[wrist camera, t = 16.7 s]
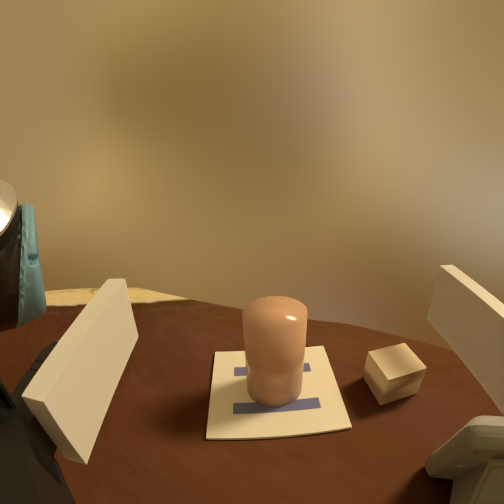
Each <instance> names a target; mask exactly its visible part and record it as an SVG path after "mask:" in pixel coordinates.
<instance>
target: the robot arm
mask: <svg viewBox="0 0 504 504" xmlns="http://www.w3.org/2000/svg"><path fill="white" fill-rule="evenodd" d="M45 310H46V297H45V291H44V286H43V279H42V273H41V266H40V258H39V250H38V242H37V231H36V220H35V209H34V207H33V206H32V205H30V204H28V205H26V204H22V205H20V206H18V202H17V197H16V194H15V191H14V189H13V188H12V187H11V185H9V184H8V183H6V182H4V181H2V180H0V332H2V331H6V330H10V329H14V328H16V329H17V328H20V327H21V325H23V324H26V323H29V322H32V321H34V320H37V319H39V318H41V317H42V316H43V314H44V313H45ZM427 320H428V321H429V322H430V323H431V325H432V326H433V327H434V328H435V329H436V330H437V331H438V332H439V334H440V335H441V336H442V337H443V338H444V340H445V341H446V342H447V343H448V344H449V346H450V347H451V348H452V349H453V350H454V352H455V353H456V354H457V355H458V356H459V358H460V359H461V360H462V361H463V363H464V364H465V365H466V366H467V368H468V369H469V370H470V371H471V373H472V374H473V375H474V376H475V378H476V379H477V380H478V382H479V383H480V384H481V385H482V387H483V388H484V389H485V391H486V392H487V393H488V395H489V396H490V397H491V399H492V400H493V401H494V403H495V404H496V406H497V407H498V408H499V410H500V411H501V412H502V414H503V415H504V305H503V304H502V303H501V302H500V301H499V300H497V299H496V298H495V297H494V296H493V295H491V294H490V293H489V292H487V291H486V290H485V289H484V288H482V287H481V286H480V285H478V284H477V283H476V282H475V281H473V280H472V279H471V278H469V277H468V276H467V275H465V274H464V273H463V272H461V271H460V270H459V269H457V268H456V267H454V266H453V265H443V266H440V267H439V272H438V277H437V281H436V286H435V290H434V294H433V298H432V302H431V306H430V310H429V314H428V318H427ZM137 339H138V333H137V329H136V325H135V321H134V317H133V312H132V308H131V304H130V299H129V294H128V290H127V285H126V280H125V279H108V280H107V281H106V282H105V283H104V285H103V286H102V287H101V288H100V289H99V291H98V292H97V293H96V294H95V296H94V297H93V298H92V299H91V301H90V302H89V303H88V304H87V306H86V307H85V308H84V309H83V311H82V312H81V313H80V314H79V316H78V317H77V318H76V320H75V321H74V322H73V323H72V325H71V326H70V327H69V329H68V330H67V331H66V333H65V334H64V335H63V337H62V338H61V339H60V341H59V342H53V343H51V344H50V345H49V346H47V347H46V348H44V349H43V350H42V351H41V353H40V354H39V355H38V357H37V358H36V359H35V362H33V364H32V365H31V366H30V370H27V372H26V373H25V375H24V376H23V377H22V379H21V380H20V382H19V383H18V385H17V386H16V388H15V389H14V391H13V392H12V393H11V395H9V393H8V391H7V390H6V388H5V386H4V384H3V383H2V381H1V379H0V504H76V503H75V501H74V499H73V497H72V495H71V493H70V490H69V488H68V486H67V484H66V481H65V479H64V477H63V474H62V472H61V469H60V467H59V464H58V462H57V460H56V459H55V457H54V454H55V451H56V449H58V450H59V451H60V452H61V454H62V455H63V456H64V457H65V459H68V460H72V461H76V462H79V463H83V464H87V462H88V460H89V457H90V454H91V451H92V448H93V446H94V443H95V440H96V438H97V435H98V432H99V430H100V427H101V424H102V422H103V419H104V417H105V414H106V412H107V409H108V407H109V404H110V402H111V399H112V397H113V394H114V392H115V389H116V387H117V385H118V382H119V380H120V377H121V375H122V373H123V370H124V368H125V366H126V363H127V361H128V359H129V357H130V354H131V352H132V350H133V348H134V345H135V343H136V341H137Z"/></svg>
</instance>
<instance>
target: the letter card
mask: <svg viewBox="0 0 504 504" xmlns="http://www.w3.org/2000/svg"><path fill="white" fill-rule="evenodd" d="M351 428H352V426H351V423H350V420H349V417H348V414H347V411H346V408H345V405H344V403H343V400H342V397H341V394H340V391H339V388H338V385H337V383H336V380H335V377H334V374H333V371H332V369H331V366H330V363H329V360H328V357H327V355H326V352H325V349H324V347H323V346H315V347H305V356H304V369H303V381H302V391H301V394H300V395H299V397H298V398H297V399H296V400H295V401H293V402H292V403H290V404H288V405H285V406H280V407H268V406H264V405H261V404H258V403H257V402H255V401H254V400H253V399H252V398H251V397H250V396H249V394H248V391H247V378H246V363H245V351H234V352H215V359H214V368H213V377H212V386H211V395H210V404H209V413H208V423H207V433H206V440H246V439H268V438H282V437H293V436H303V435H312V434H320V433H327V432H334V431H340V430H346V429H351Z"/></svg>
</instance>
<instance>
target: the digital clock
mask: <svg viewBox="0 0 504 504" xmlns="http://www.w3.org/2000/svg"><path fill="white" fill-rule="evenodd" d="M425 469H426V471H427V473H428V475H429V476H431V477H435V478H444V479H453V486H452V492H451V498H450V503H449V504H504V417H498V416H477V417H475V418H473V419H472V420H470V421H469V422H468V423H467V424H466V425H465V426H464V427H463V428H462V429H460V430H459V431H458V432H457V433H456V434H455V435H454V436H453V437H452V438H450V439H449V440H448V441H447V442H446V443H445V444H444V445H442V446H441V447H440V448H439V449H438V450H436V451H435V452H434V453H433V454H432V455H431V456H430V457H429V458H428V459H427V460H426V464H425ZM487 474H488V475H487Z"/></svg>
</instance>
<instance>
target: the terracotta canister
mask: <svg viewBox="0 0 504 504" xmlns="http://www.w3.org/2000/svg"><path fill="white" fill-rule="evenodd" d="M242 315H243V332H244V347H245V363H246V378H247V391H248V394H249V396H250V397H251V398H252V399H253V400H254V401H255V402H257V403H258V404H261V405H264V406H268V407H280V406H285V405H288V404H290V403H292V402H293V401H295V400H296V399H297V398H298V397H299V395H300V394H301V391H302V381H303V369H304V356H305V342H306V327H307V309H306V307H305V305H304V304H302V303H301V302H299V301H298V300H295V299H292V298H289V297H282V296H269V297H263V298H258V299H256V300H253V301H251V302H249V303H248V304H247V305H246V306H245V307H244V309H243V311H242Z"/></svg>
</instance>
